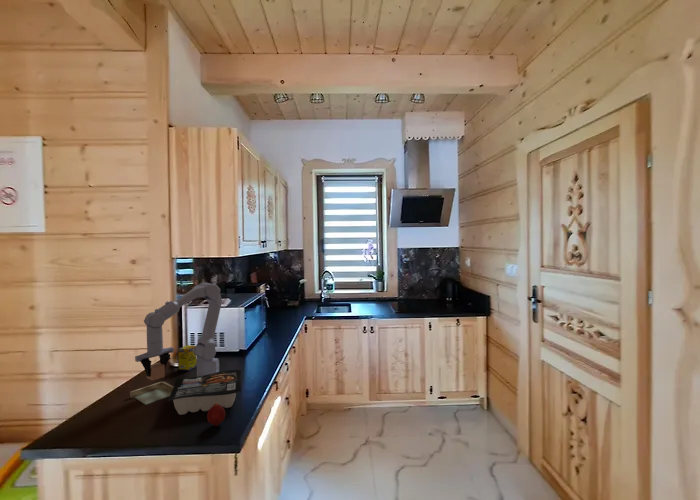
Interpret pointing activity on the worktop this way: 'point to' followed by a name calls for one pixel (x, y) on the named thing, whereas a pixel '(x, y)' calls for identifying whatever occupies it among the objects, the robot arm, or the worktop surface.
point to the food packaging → (206, 391)
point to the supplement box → (187, 358)
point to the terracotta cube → (157, 371)
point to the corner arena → (152, 392)
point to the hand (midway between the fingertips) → (155, 373)
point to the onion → (216, 414)
